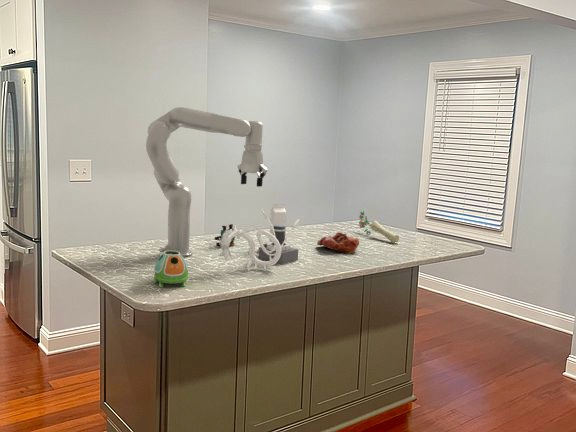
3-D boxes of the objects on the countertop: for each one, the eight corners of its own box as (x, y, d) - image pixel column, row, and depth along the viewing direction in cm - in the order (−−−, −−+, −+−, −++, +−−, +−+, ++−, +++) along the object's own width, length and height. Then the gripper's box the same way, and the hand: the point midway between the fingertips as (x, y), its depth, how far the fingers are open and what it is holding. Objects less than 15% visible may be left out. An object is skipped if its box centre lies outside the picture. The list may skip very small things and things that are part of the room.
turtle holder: (180, 274, 223) (181, 245, 221) (192, 287, 207) (192, 255, 205) (148, 276, 218) (149, 246, 216) (157, 290, 202) (158, 257, 200)
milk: (269, 248, 277) (270, 203, 273) (280, 247, 279) (282, 203, 275) (273, 251, 271) (274, 205, 268) (285, 250, 273) (286, 205, 270)
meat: (308, 246, 287) (309, 226, 285) (345, 244, 295) (346, 225, 294) (327, 255, 268) (329, 234, 266) (366, 253, 277) (367, 233, 275)
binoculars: (222, 223, 284) (237, 224, 278) (223, 244, 285) (238, 245, 279) (209, 225, 277) (224, 226, 271) (210, 246, 278) (225, 248, 272)
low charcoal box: (282, 264, 247) (283, 248, 246) (258, 258, 255) (258, 243, 254) (297, 260, 255) (298, 244, 254) (273, 254, 264) (274, 239, 263)
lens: (286, 249, 253) (287, 227, 252) (274, 249, 251) (275, 227, 250) (282, 246, 258) (283, 225, 257) (270, 247, 256) (271, 225, 255)
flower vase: (386, 256, 304) (349, 230, 331) (404, 248, 308) (366, 223, 336) (386, 238, 298) (348, 213, 325) (404, 230, 303) (365, 206, 330)
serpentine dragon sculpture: (299, 255, 259) (288, 201, 257) (321, 257, 241) (309, 199, 239) (210, 280, 240) (198, 222, 238) (227, 284, 222) (214, 222, 220)
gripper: (233, 146, 264) (232, 183, 266) (262, 149, 253) (260, 187, 256) (244, 147, 270) (242, 182, 272) (273, 149, 259) (270, 187, 262)
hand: (251, 185), depth 264 cm, fingers open, 9 cm apart
